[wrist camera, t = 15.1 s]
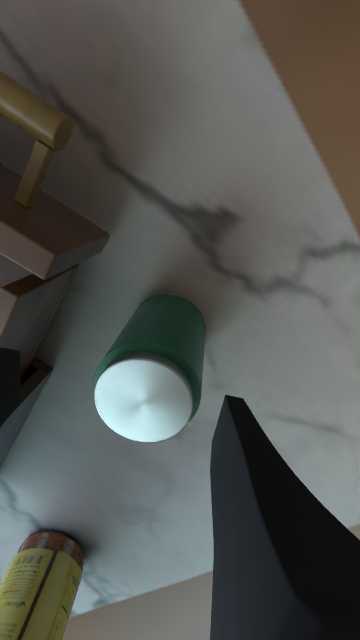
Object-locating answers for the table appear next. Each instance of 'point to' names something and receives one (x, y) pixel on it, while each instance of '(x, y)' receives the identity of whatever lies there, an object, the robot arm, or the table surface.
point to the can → (153, 371)
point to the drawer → (36, 228)
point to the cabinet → (23, 404)
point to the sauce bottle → (40, 587)
